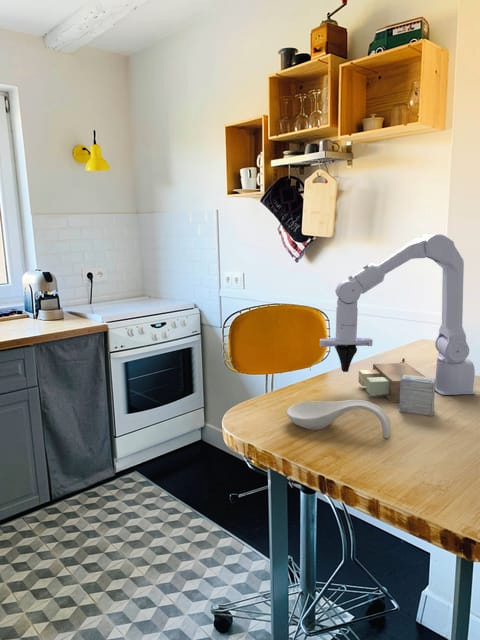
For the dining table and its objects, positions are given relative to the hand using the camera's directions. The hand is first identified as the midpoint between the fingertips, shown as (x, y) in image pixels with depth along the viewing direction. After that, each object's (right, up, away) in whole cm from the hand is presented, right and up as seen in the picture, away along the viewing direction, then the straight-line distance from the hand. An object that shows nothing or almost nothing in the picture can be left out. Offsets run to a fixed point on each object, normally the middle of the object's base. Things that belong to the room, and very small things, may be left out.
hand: (344, 370), depth 140 cm
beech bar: (+9, -4, +1) cm, 10 cm away
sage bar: (+10, -5, -6) cm, 12 cm away
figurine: (+20, -3, +13) cm, 24 cm away
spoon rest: (-7, -11, -25) cm, 28 cm away
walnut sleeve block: (+15, -6, -2) cm, 16 cm away
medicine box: (+15, -9, -16) cm, 23 cm away
